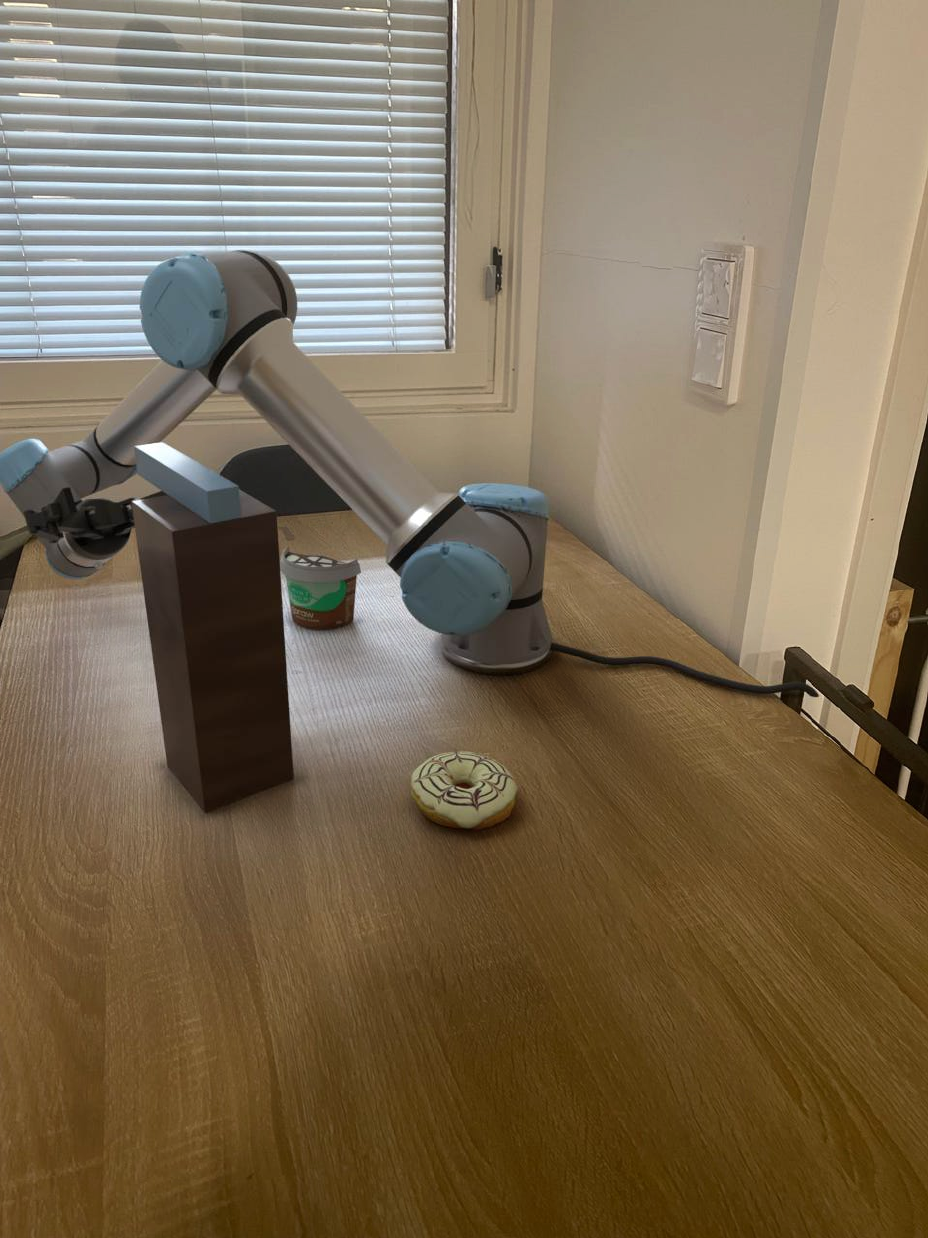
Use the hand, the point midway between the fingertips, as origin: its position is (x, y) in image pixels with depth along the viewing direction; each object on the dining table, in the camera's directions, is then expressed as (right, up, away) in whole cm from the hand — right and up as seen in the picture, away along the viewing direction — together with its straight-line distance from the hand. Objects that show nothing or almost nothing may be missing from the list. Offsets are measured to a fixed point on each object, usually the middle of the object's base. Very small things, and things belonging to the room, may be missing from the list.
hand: (134, 489), depth 100 cm
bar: (+10, -2, -12) cm, 16 cm away
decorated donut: (+36, -34, -6) cm, 50 cm away
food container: (+15, -15, +31) cm, 38 cm away
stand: (+11, -31, -2) cm, 33 cm away
